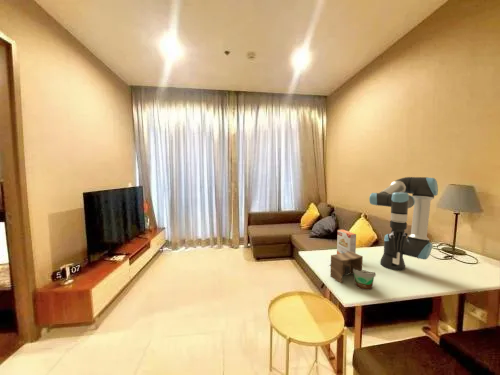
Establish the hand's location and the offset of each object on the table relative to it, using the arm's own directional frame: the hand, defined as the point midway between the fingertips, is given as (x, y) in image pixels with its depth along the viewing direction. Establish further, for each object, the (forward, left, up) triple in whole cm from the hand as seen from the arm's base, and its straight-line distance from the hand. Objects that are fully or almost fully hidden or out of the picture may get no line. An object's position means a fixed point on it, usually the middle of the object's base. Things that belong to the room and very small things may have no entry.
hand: (395, 263), depth 121 cm
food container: (+9, -12, -19) cm, 24 cm away
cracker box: (-15, -50, -19) cm, 56 cm away
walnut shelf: (+9, -26, -18) cm, 33 cm away
